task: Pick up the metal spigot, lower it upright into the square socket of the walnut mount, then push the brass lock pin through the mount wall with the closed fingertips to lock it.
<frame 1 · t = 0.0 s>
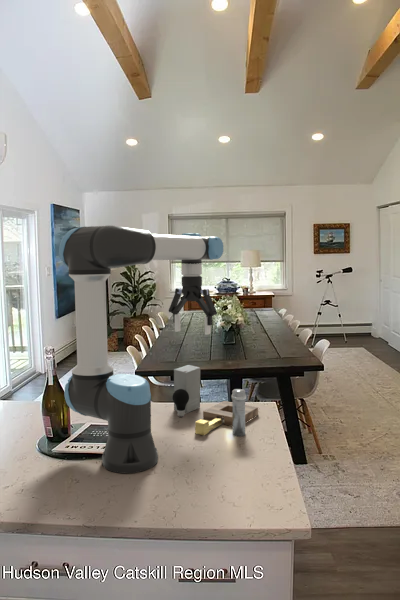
hand: (192, 332, 177), 28 cm above the worktop, fingers open, 13 cm apart
light bulb: (181, 417, 167), on the worktop
lock pin: (209, 423, 155), point 2 cm above the worktop, slide at 0.0 cm
spigot: (238, 434, 151), on the worktop
skincare box: (187, 410, 176), on the worktop
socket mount: (230, 417, 166), on the worktop
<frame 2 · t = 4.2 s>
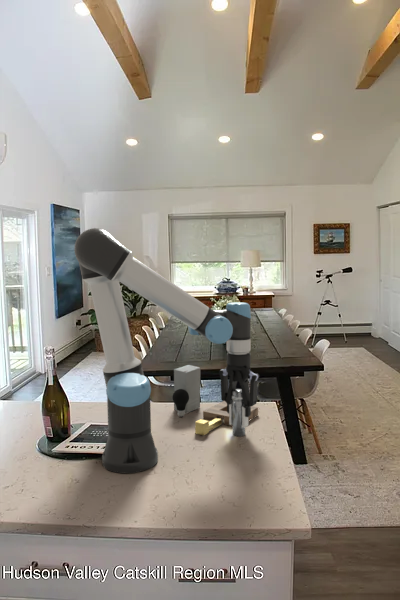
hand: (238, 424, 151), 3 cm above the worktop, fingers closed on spigot, 4 cm apart
spigot: (238, 433, 151), on the worktop, touching gripper
everything else where it was.
when the fingers open (5 cm above the worktop, at t = 9.7 s): spigot drops 1 cm, resting in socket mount.
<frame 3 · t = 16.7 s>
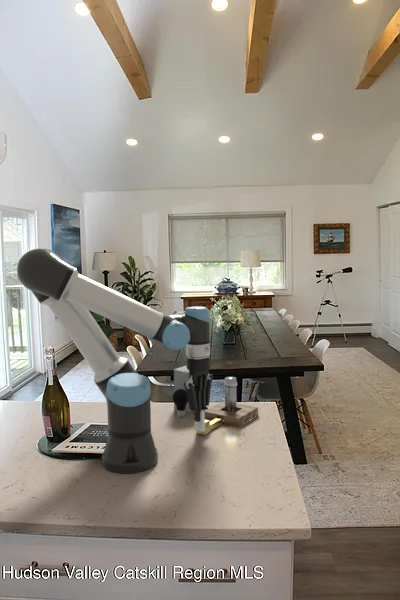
hand: (200, 430, 150), 2 cm above the worktop, fingers closed
lock pin: (210, 422, 155), point 2 cm above the worktop, slide at 0.5 cm, touching gripper
spigot: (230, 417, 166), resting in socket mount
everything else where it was.
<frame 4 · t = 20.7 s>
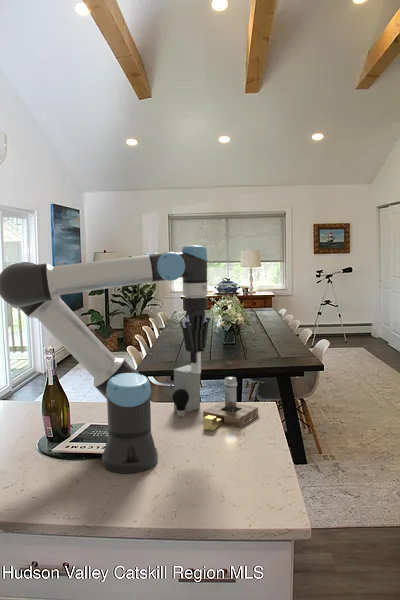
hand: (196, 372, 147), 20 cm above the worktop, fingers closed
lock pin: (217, 419, 159), point 2 cm above the worktop, slide at 4.7 cm
everything else where it was.
at the end: spigot 0.1 cm off-centre on the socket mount, point 0.0 cm above the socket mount's base; spigot tilted 0°; lock pin slide at 4.7 cm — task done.
